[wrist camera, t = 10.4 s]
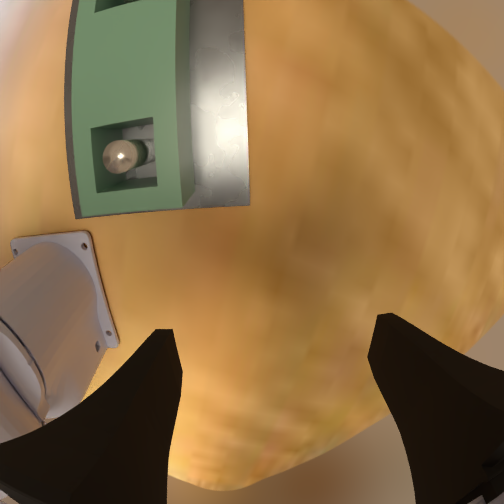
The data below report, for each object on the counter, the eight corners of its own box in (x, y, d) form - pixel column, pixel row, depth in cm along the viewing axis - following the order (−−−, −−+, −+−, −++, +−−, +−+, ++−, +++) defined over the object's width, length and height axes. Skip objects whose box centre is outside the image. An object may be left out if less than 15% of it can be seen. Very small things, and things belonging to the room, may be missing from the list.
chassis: (249, 201, 17) (255, 230, 12) (82, 215, 17) (35, 245, 12) (241, -34, 11) (243, -83, 6) (80, -3, 11) (40, -32, 6)
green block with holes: (195, 191, 16) (182, 207, 12) (113, 198, 16) (82, 216, 12) (191, -27, 11) (181, -61, 7) (112, -11, 10) (87, -37, 7)
